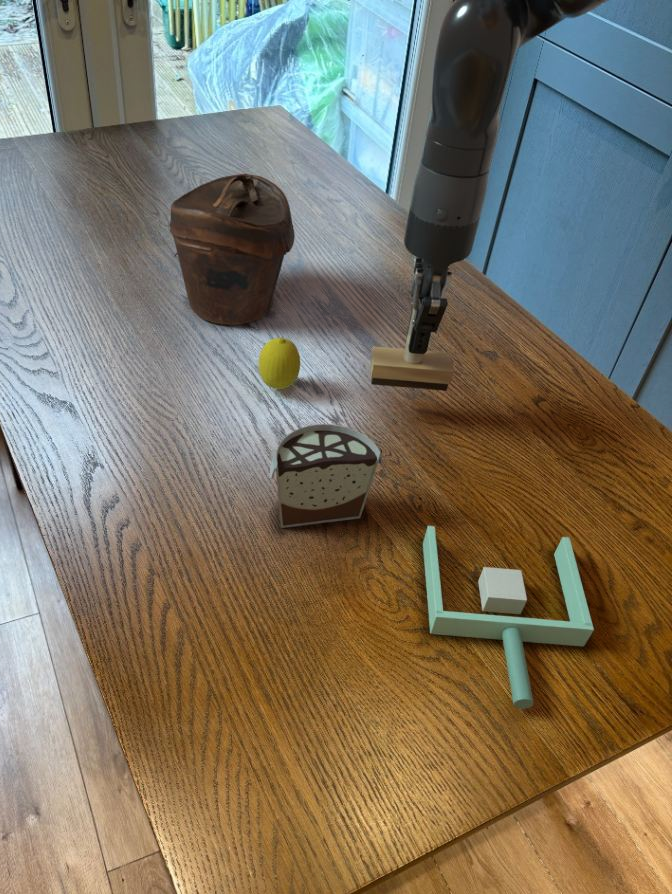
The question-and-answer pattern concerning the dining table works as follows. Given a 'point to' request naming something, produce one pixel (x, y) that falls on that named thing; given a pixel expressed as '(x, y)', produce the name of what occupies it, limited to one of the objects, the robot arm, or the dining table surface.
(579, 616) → the goalpost shaped holder
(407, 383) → the brush
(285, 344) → the lemon
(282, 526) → the cupcake
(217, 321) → the case
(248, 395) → the dining table surface
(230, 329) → the dining table surface
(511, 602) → the white square block
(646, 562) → the dining table surface
